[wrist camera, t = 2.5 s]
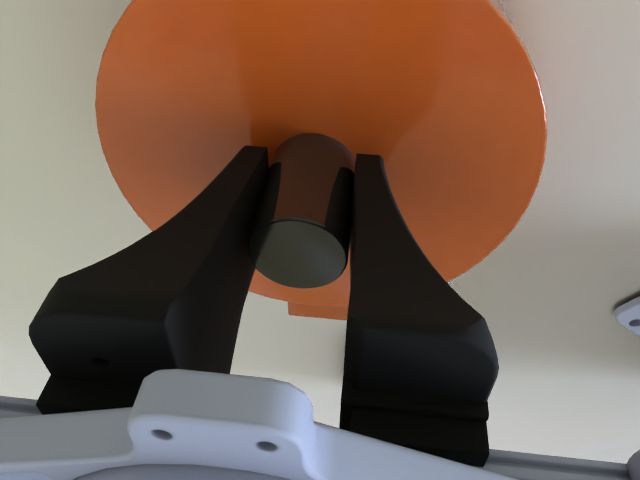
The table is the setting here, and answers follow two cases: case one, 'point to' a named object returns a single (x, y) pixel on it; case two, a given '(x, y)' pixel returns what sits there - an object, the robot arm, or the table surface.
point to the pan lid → (327, 123)
